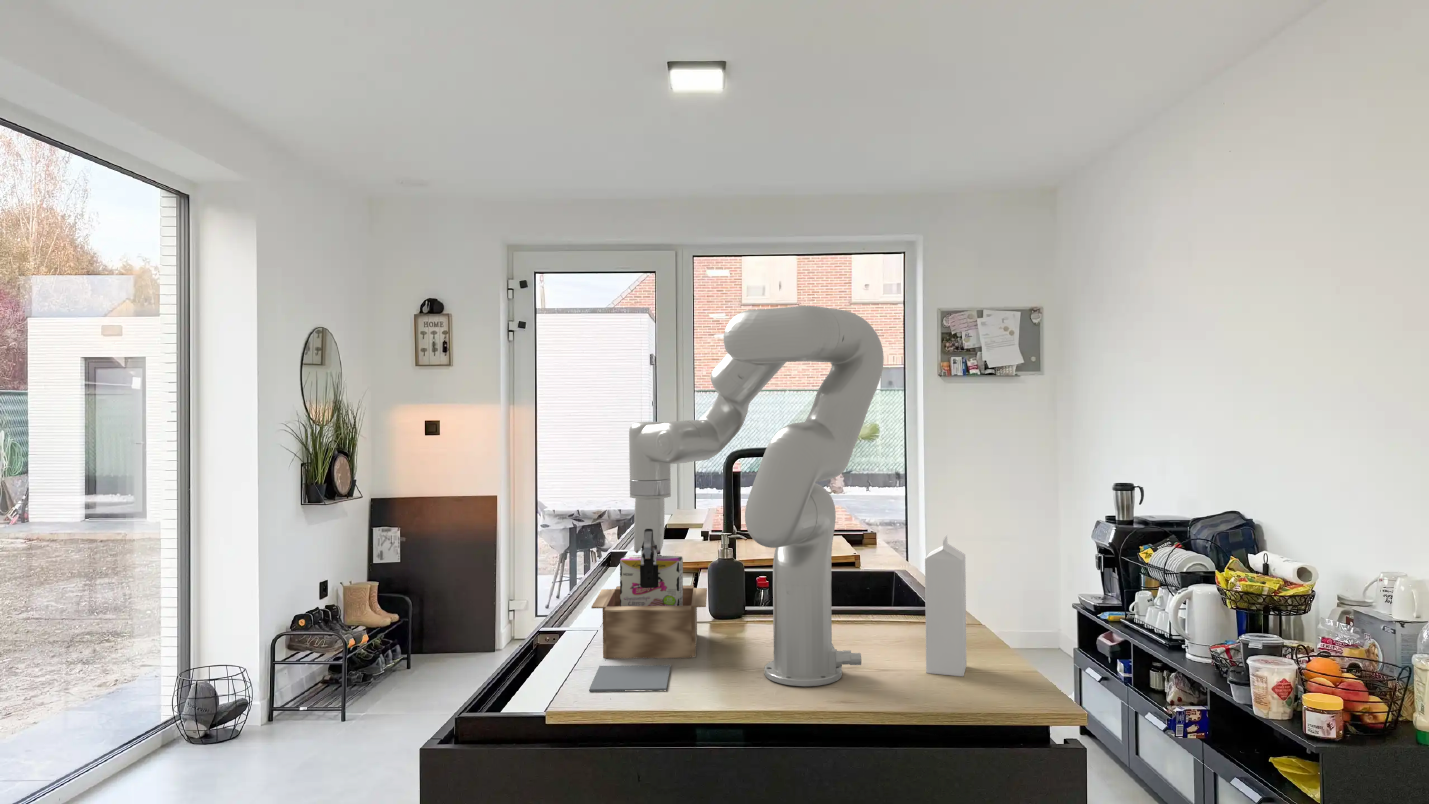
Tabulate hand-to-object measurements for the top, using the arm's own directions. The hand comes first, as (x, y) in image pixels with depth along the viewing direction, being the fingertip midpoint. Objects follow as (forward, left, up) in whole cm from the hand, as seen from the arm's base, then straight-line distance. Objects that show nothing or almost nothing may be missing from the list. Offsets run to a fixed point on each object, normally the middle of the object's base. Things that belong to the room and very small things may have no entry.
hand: (651, 581), depth 162 cm
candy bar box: (0, 0, -12) cm, 12 cm away
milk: (-50, +16, -12) cm, 54 cm away
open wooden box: (0, 0, -12) cm, 12 cm away
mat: (+2, +19, -12) cm, 22 cm away
